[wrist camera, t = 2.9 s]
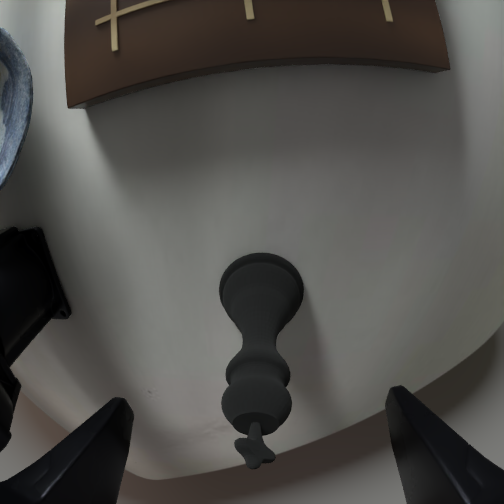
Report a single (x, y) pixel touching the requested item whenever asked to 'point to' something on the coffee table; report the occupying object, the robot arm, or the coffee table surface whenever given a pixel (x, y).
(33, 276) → the robot arm
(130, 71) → the board
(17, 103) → the seashell
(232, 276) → the chess piece
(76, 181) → the coffee table surface
